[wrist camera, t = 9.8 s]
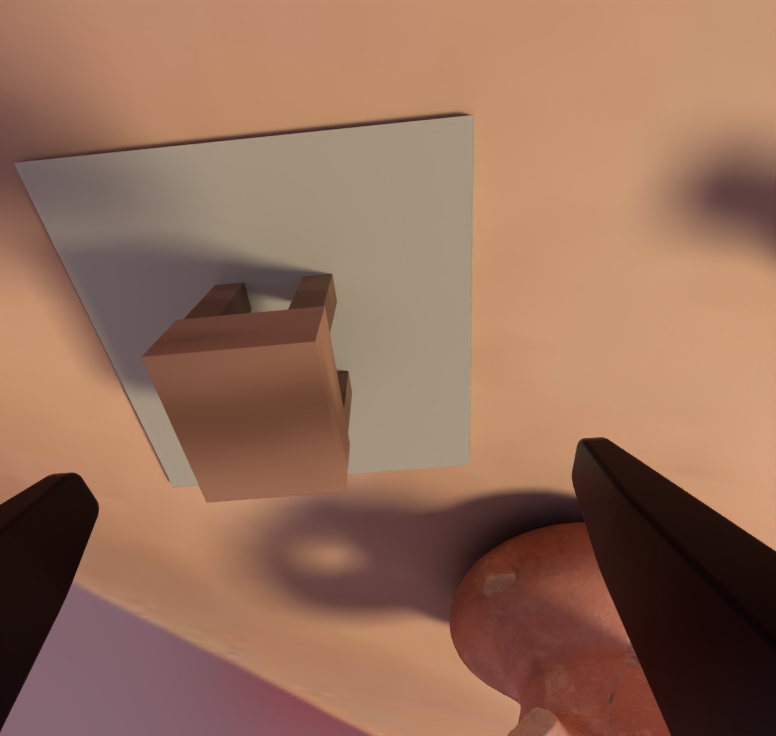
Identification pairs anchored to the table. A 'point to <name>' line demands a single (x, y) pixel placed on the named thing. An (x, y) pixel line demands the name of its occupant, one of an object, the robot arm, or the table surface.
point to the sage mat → (288, 264)
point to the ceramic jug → (552, 638)
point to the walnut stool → (257, 394)
